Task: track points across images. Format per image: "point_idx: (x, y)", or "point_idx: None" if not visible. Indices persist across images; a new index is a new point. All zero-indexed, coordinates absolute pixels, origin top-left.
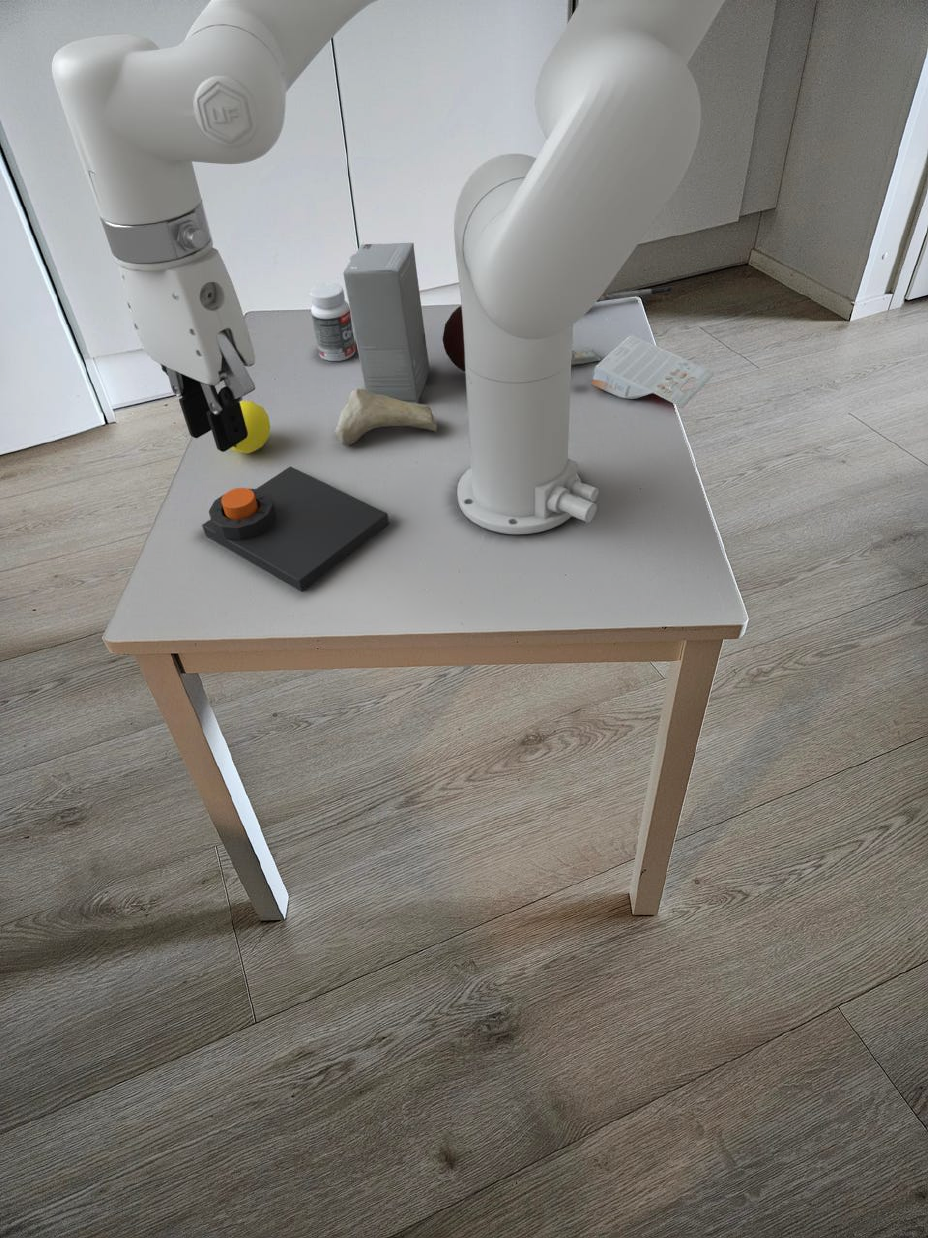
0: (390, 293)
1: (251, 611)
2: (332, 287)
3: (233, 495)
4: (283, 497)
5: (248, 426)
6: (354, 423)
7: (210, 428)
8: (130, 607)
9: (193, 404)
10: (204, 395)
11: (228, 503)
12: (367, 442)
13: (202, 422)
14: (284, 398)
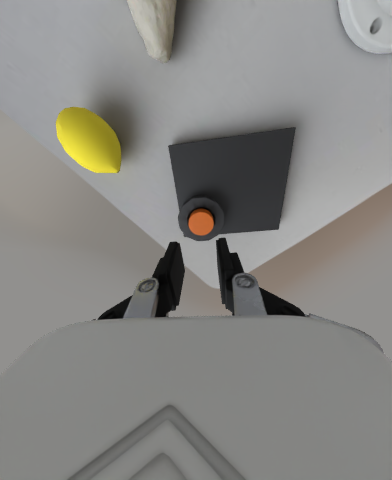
0: None
1: (258, 251)
2: None
3: (196, 225)
4: (201, 180)
5: (106, 149)
6: (166, 18)
7: (181, 256)
8: (205, 281)
9: (177, 292)
10: (173, 280)
11: (201, 232)
12: None
13: (181, 269)
14: (25, 40)
